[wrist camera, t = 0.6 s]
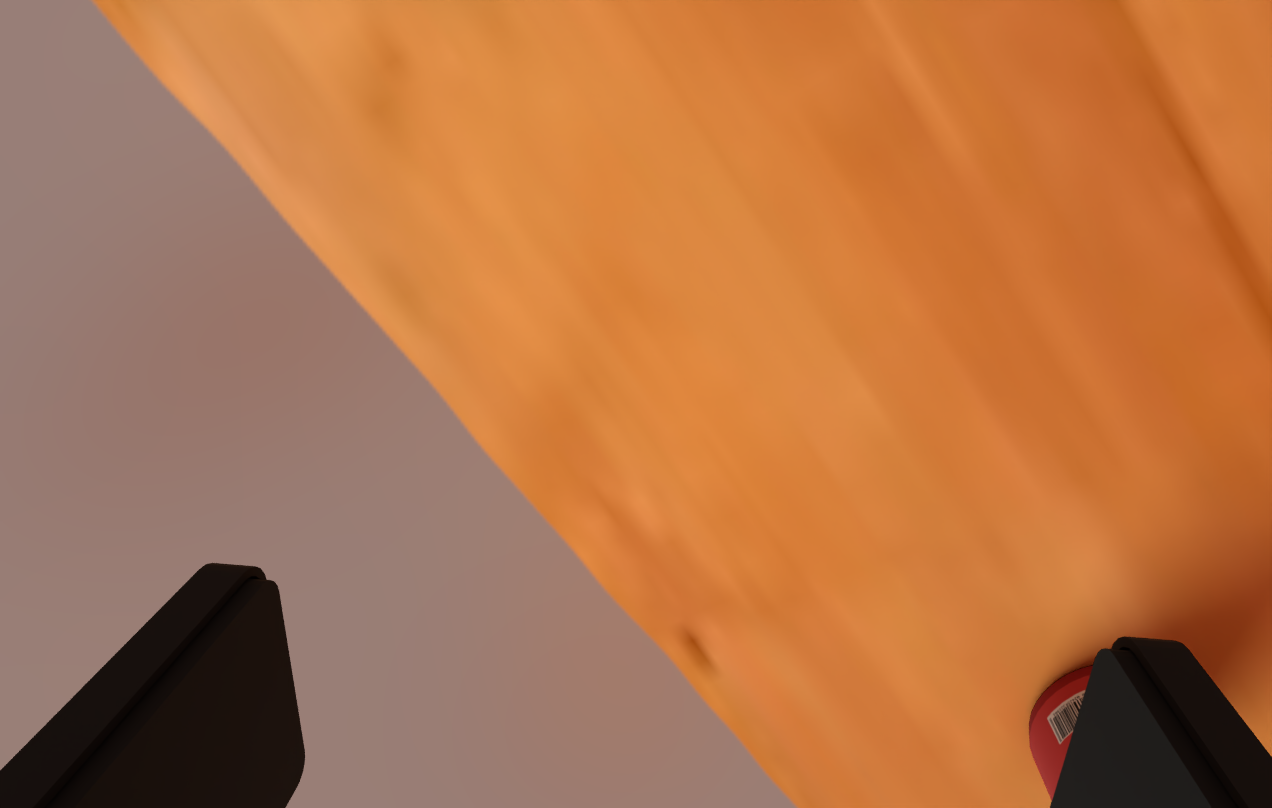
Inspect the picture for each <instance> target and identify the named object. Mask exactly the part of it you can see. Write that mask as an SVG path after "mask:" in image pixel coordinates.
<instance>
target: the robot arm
mask: <svg viewBox="0 0 1272 808" xmlns="http://www.w3.org/2000/svg"><path fill="white" fill-rule="evenodd" d="M304 762H305V749H304V744H303V737H302V731H301V725H300V718H299V712H298V706H297V700H296V694H295V687H294V681H293V675H292V669H291V662H290V657H289V650H288V644H287V638H286V631H285V625H284V619H283V613H282V607H281V601H280V594H279V590H278V586H277V585H276V583H275V582H274V581H271V580H266V577H265V574H264V572H263V571H262V570H261V569H260V568H258V567H255V566H243V565H231V564H219V563H210V564H206V565H205V566H203V567H202V568H201V569H199V570H198V571H197V572H196V573H195V574H194V575H193V576H192V577H191V578H190V579H189V580H188V581H187V582H186V583H185V584H184V586H182V587H181V588H180V589H179V591H178V592H176V593H175V595H174V596H173V597H172V598H171V599H170V600H169V601H168V602H167V603H166V604H165V605H164V606H163V607H162V608H161V609H160V610H159V611H158V612H157V613H156V614H155V615H154V616H153V617H152V618H151V619H150V620H149V621H148V622H147V623H146V624H145V625H144V626H143V627H142V628H141V629H140V630H139V631H138V632H137V633H136V634H135V635H134V636H133V637H132V638H131V639H130V640H129V641H128V642H127V643H126V644H125V645H124V646H123V647H122V648H121V649H120V650H119V651H118V652H117V653H116V654H115V655H114V656H113V657H112V658H111V659H110V660H109V661H108V662H107V663H106V664H105V665H104V666H103V667H102V668H101V669H100V670H99V671H98V672H97V673H96V674H95V675H94V676H93V677H92V679H90V681H88V682H87V683H86V684H85V685H84V686H83V687H82V689H81V690H80V691H79V692H78V693H77V694H76V695H75V696H74V697H73V698H72V699H71V700H70V701H69V702H68V703H67V704H66V705H65V706H64V707H63V708H62V709H61V710H60V711H59V712H58V713H57V714H56V715H55V716H54V717H53V718H52V719H51V720H50V721H49V722H48V723H47V724H46V725H45V726H44V727H43V728H42V729H41V730H40V731H39V732H38V733H37V734H36V735H35V736H34V737H33V738H32V739H31V740H30V741H29V742H28V743H27V744H26V745H25V746H24V747H23V748H22V749H21V750H20V751H19V752H18V753H17V754H16V755H15V756H14V757H13V758H12V759H11V760H10V761H9V762H8V763H7V764H6V766H4V767H3V768H2V769H1V770H0V808H285V807H286V806H287V804H288V802H289V800H290V798H291V797H292V795H293V793H294V791H295V790H296V788H297V786H298V784H299V782H300V779H301V776H302V773H303V768H304ZM1050 808H1272V757H1271V756H1270V754H1269V753H1268V752H1267V750H1266V749H1265V748H1264V746H1263V745H1262V744H1261V743H1260V741H1259V740H1258V739H1257V737H1256V736H1255V735H1254V733H1253V732H1252V731H1251V730H1250V728H1249V727H1248V726H1247V724H1246V723H1245V722H1244V721H1243V719H1242V718H1241V717H1240V715H1239V714H1238V713H1237V711H1236V710H1235V709H1234V708H1233V706H1232V705H1231V704H1230V702H1229V701H1228V700H1227V698H1226V697H1225V696H1224V695H1223V693H1222V692H1221V691H1220V689H1219V688H1218V687H1217V685H1216V684H1215V683H1214V682H1213V680H1212V679H1211V678H1210V676H1209V675H1208V674H1207V673H1206V671H1205V670H1204V669H1203V667H1202V666H1201V665H1200V663H1199V662H1198V661H1197V660H1196V658H1195V657H1194V656H1193V654H1192V653H1191V652H1190V650H1189V649H1188V648H1187V647H1186V646H1185V645H1183V644H1182V643H1180V642H1177V641H1173V640H1161V639H1148V638H1136V637H1121V638H1118V639H1117V640H1116V641H1115V642H1114V644H1113V646H1112V648H1111V649H1101V650H1100V651H1099V652H1098V653H1097V656H1096V658H1095V661H1094V664H1093V667H1092V670H1091V674H1090V677H1089V680H1088V684H1087V687H1086V690H1085V694H1084V697H1083V700H1082V703H1081V707H1080V710H1079V713H1078V717H1077V720H1076V723H1075V727H1074V730H1073V733H1072V736H1071V740H1070V743H1069V746H1068V750H1067V753H1066V756H1065V760H1064V763H1063V766H1062V769H1061V773H1060V776H1059V779H1058V783H1057V786H1056V789H1055V793H1054V796H1053V799H1052V802H1051V806H1050Z"/></svg>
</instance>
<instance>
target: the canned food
mask: <svg viewBox="0 0 1272 808" xmlns="http://www.w3.org/2000/svg"><path fill="white" fill-rule="evenodd" d="M1092 667H1093V665H1092V666H1089V667H1085V668H1081V669H1079V670H1076V671H1074V672H1072V673H1070V674H1067V675H1066V676H1064V677H1062V678H1061V679H1059V680H1058V681H1056V682H1055V683H1053V684H1052V685H1051V686H1050V687H1049V688H1048V689H1047V690H1046V691H1045V692H1044V693H1043V694H1042V695H1041V697H1040V698H1039V699H1038V701H1037V702H1036V704H1035V706H1034V708H1033V710H1032V713H1031V717H1030V721H1029V738H1030V749H1031V752H1032V755H1033V758H1034V760H1035V763H1036V765H1037V767H1038V770H1039V772H1040V774H1041V777H1042V779H1043V781H1044V784H1045V786H1046V788H1047V791H1048V793H1049V795H1050V798H1051V800H1052V799H1053V796H1054V793H1055V789H1056V786H1057V783H1058V779H1059V776H1060V773H1061V769H1062V766H1063V763H1064V760H1065V756H1066V753H1067V750H1068V746H1069V743H1070V740H1071V736H1072V733H1073V730H1074V727H1075V723H1076V720H1077V717H1078V713H1079V710H1080V707H1081V703H1082V700H1083V697H1084V694H1085V690H1086V687H1087V684H1088V680H1089V677H1090V674H1091V670H1092Z"/></svg>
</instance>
